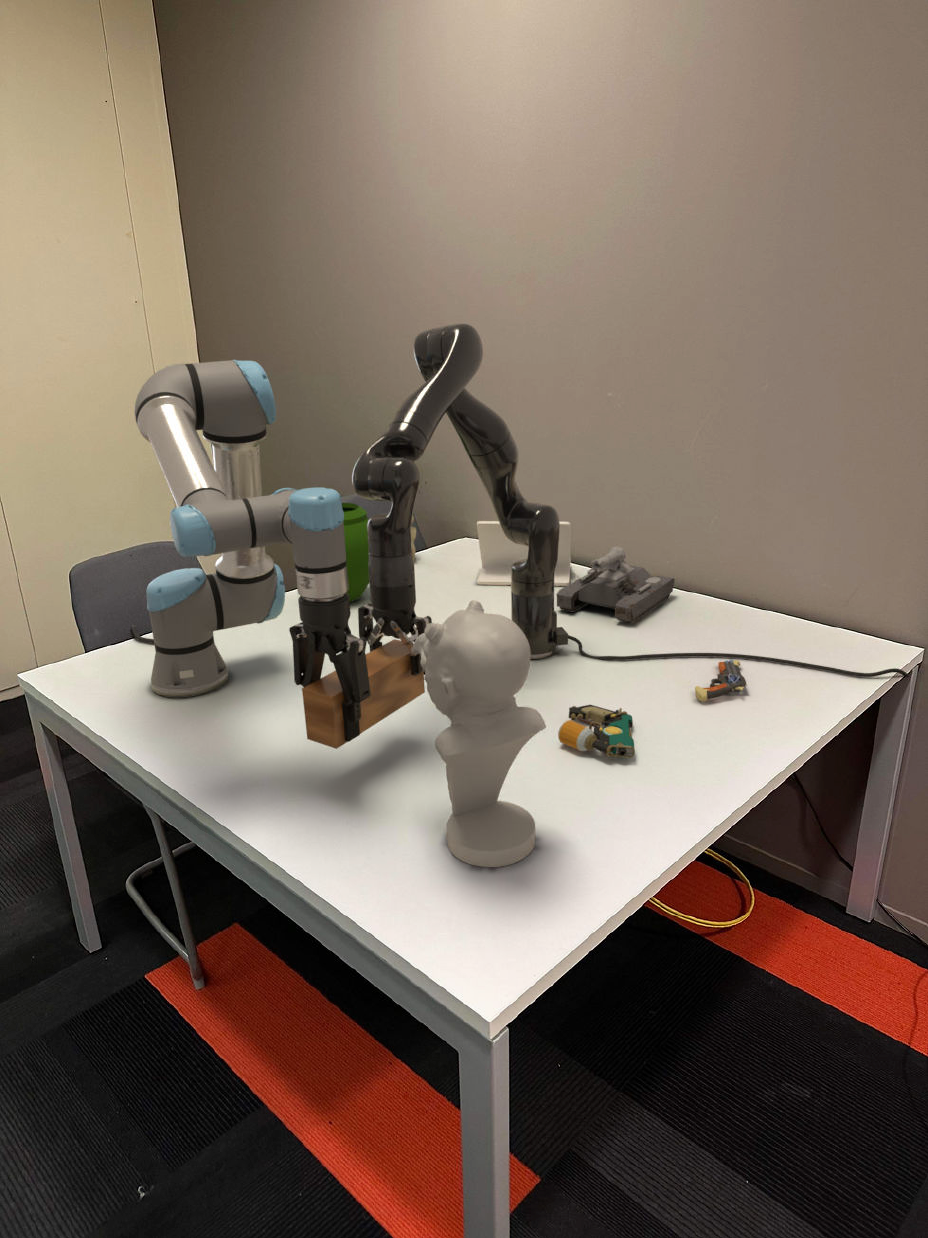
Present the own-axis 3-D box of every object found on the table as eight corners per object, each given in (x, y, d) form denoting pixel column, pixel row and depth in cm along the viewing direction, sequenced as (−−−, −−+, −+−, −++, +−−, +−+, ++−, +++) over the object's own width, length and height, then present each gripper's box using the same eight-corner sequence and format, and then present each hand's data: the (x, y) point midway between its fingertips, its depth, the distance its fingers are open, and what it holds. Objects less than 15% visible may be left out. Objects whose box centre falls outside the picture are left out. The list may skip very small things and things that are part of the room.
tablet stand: (569, 585, 229) (570, 524, 223) (476, 584, 232) (475, 523, 226) (570, 566, 246) (571, 508, 240) (484, 564, 249) (483, 507, 243)
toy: (603, 584, 229) (605, 530, 224) (673, 597, 218) (677, 540, 213) (555, 612, 210) (556, 553, 205) (630, 627, 199) (633, 566, 194)
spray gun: (574, 713, 161) (653, 730, 155) (544, 749, 146) (630, 769, 140) (576, 692, 159) (656, 709, 153) (546, 727, 145) (632, 746, 139)
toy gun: (696, 691, 161) (751, 688, 159) (689, 658, 179) (739, 655, 177) (697, 705, 162) (752, 702, 159) (690, 670, 179) (740, 667, 177)
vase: (396, 593, 227) (391, 503, 219) (349, 616, 212) (341, 520, 203) (340, 582, 237) (333, 496, 228) (291, 603, 222) (281, 511, 213)
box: (397, 684, 152) (394, 639, 149) (424, 692, 148) (422, 645, 145) (307, 739, 134) (301, 688, 131) (336, 749, 131) (331, 697, 127)
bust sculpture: (481, 772, 140) (476, 569, 128) (565, 848, 120) (569, 617, 108) (392, 800, 134) (378, 588, 121) (465, 886, 114) (457, 642, 101)
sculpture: (417, 556, 259) (415, 507, 254) (417, 563, 252) (415, 513, 247) (398, 557, 259) (395, 508, 254) (398, 564, 252) (395, 514, 247)
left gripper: (259, 591, 129) (275, 727, 137) (356, 612, 119) (367, 758, 127) (294, 577, 134) (307, 709, 143) (390, 597, 124) (398, 737, 133)
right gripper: (343, 577, 141) (351, 668, 147) (413, 591, 133) (417, 685, 139) (372, 566, 147) (378, 653, 152) (440, 578, 139) (444, 669, 145)
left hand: (335, 732), depth 135 cm, fingers closed on box, 6 cm apart
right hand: (397, 668), depth 146 cm, fingers open, 8 cm apart
